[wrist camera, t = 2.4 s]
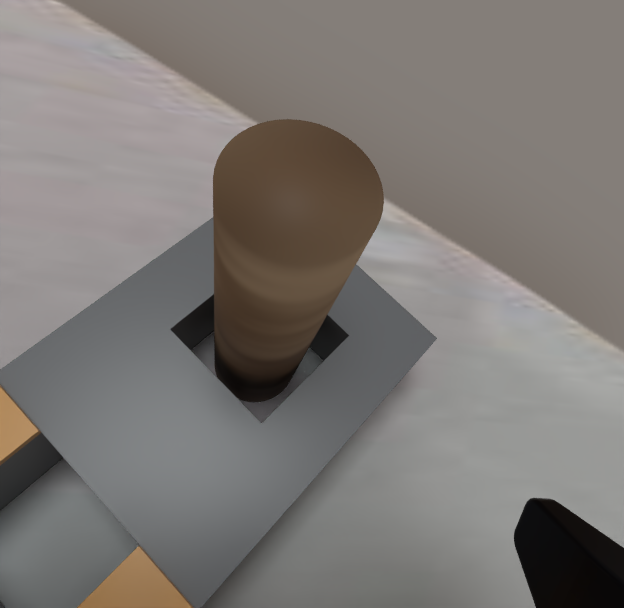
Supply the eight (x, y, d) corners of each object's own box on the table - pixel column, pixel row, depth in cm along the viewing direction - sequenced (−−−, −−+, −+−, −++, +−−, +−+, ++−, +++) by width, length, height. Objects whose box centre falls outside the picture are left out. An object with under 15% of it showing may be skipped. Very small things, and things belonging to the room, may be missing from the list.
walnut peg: (309, 363, 22) (415, 196, 10) (253, 418, 21) (303, 297, 9) (256, 310, 23) (298, 95, 11) (197, 360, 21) (175, 174, 9)
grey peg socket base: (257, 229, 24) (265, 176, 21) (402, 365, 23) (440, 335, 19) (-163, 551, 16) (-282, 564, 12) (18, 796, 15) (-52, 897, 11)
